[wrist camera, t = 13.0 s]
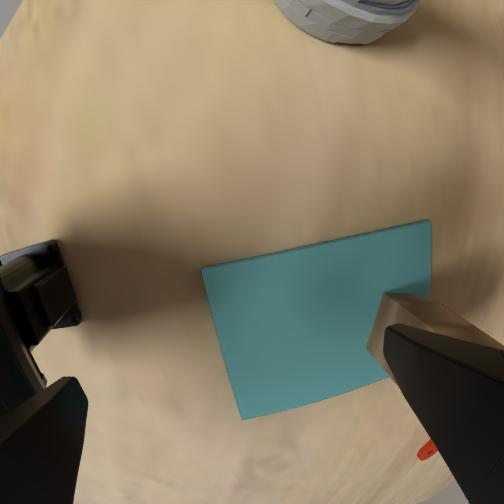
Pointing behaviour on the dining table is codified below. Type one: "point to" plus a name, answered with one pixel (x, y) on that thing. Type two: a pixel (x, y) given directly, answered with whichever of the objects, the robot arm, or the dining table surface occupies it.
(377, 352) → the walnut block
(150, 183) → the dining table surface
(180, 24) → the dining table surface
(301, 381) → the mat
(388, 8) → the canister
